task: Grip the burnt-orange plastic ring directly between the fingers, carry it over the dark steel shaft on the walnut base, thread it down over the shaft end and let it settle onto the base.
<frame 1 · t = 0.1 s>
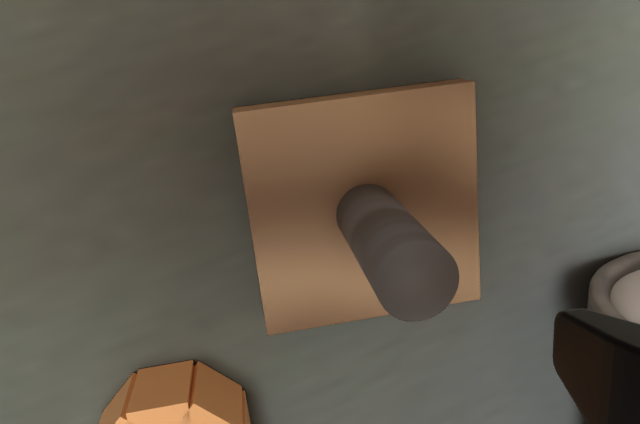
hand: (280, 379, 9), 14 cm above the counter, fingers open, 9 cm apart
pipe fitting: (623, 360, 28), on the counter
shaft post: (358, 203, 23), on the counter
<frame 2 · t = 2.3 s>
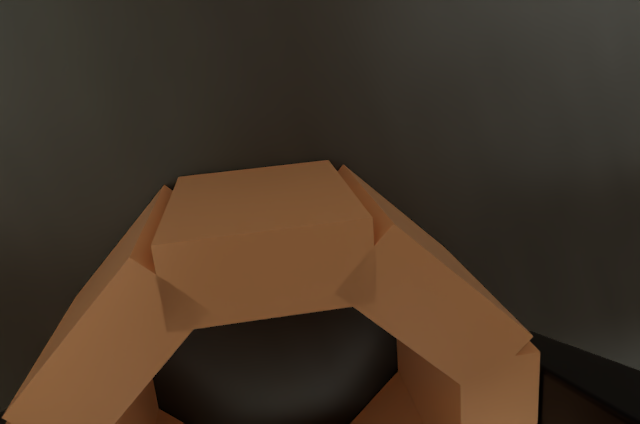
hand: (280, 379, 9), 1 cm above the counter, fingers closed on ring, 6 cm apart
ring: (275, 345, 10), on the counter, touching gripper
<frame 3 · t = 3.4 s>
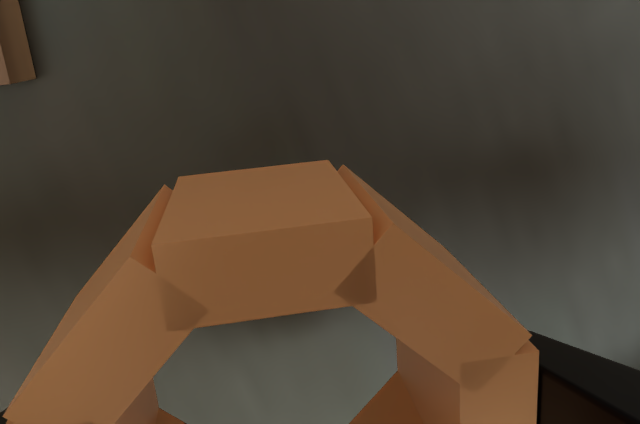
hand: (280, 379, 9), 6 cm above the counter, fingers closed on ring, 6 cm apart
ring: (275, 345, 10), point 5 cm above the counter, touching gripper
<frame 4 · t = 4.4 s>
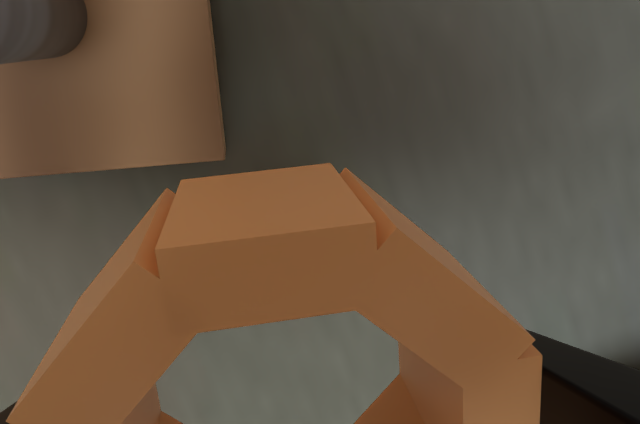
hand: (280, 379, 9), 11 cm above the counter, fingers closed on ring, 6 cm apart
shaft post: (58, 14, 17), on the counter
ring: (277, 348, 10), point 10 cm above the counter, touching gripper
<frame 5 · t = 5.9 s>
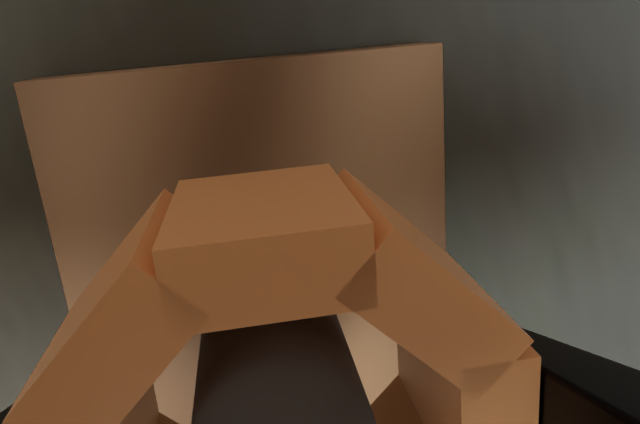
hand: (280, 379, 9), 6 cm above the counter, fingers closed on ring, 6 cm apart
shaft post: (258, 237, 15), on the counter
ring: (276, 349, 10), point 5 cm above the counter, touching gripper
when the fingers open (4 cm above the counter, at t = 6.8 s): ring drops 1 cm, resting on shaft post.
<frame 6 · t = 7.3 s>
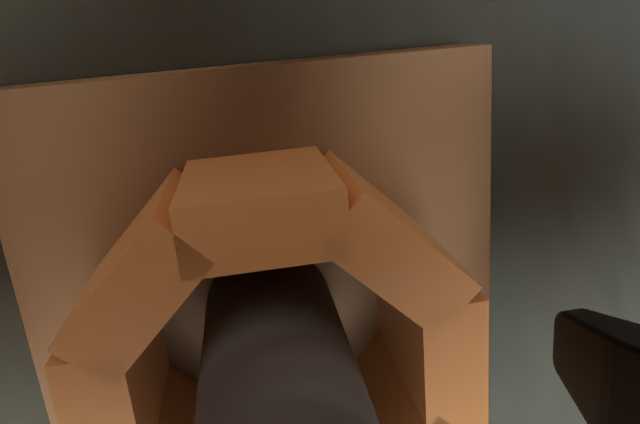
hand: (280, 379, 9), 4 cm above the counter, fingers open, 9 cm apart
shaft post: (265, 275, 12), on the counter
ring: (271, 309, 11), point 1 cm above the counter, touching shaft post
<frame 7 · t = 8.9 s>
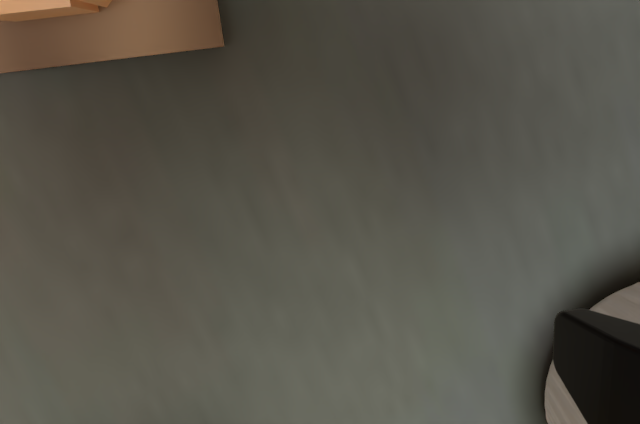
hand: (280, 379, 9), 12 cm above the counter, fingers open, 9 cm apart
ramekin: (635, 368, 25), on the counter
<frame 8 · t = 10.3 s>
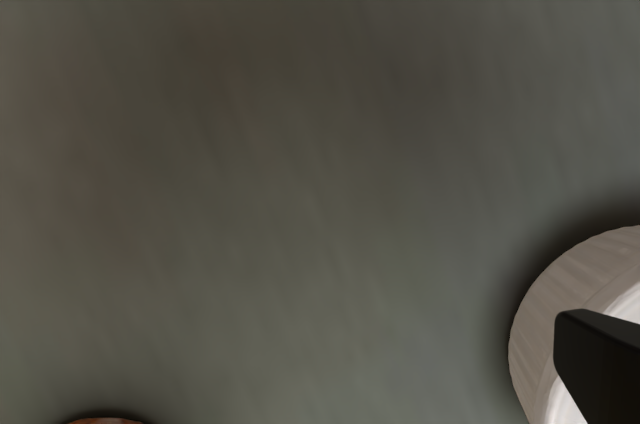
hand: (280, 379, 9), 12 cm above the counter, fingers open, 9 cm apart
ramekin: (603, 325, 24), on the counter
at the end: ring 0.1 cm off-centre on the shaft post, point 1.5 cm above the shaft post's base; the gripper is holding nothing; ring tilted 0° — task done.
